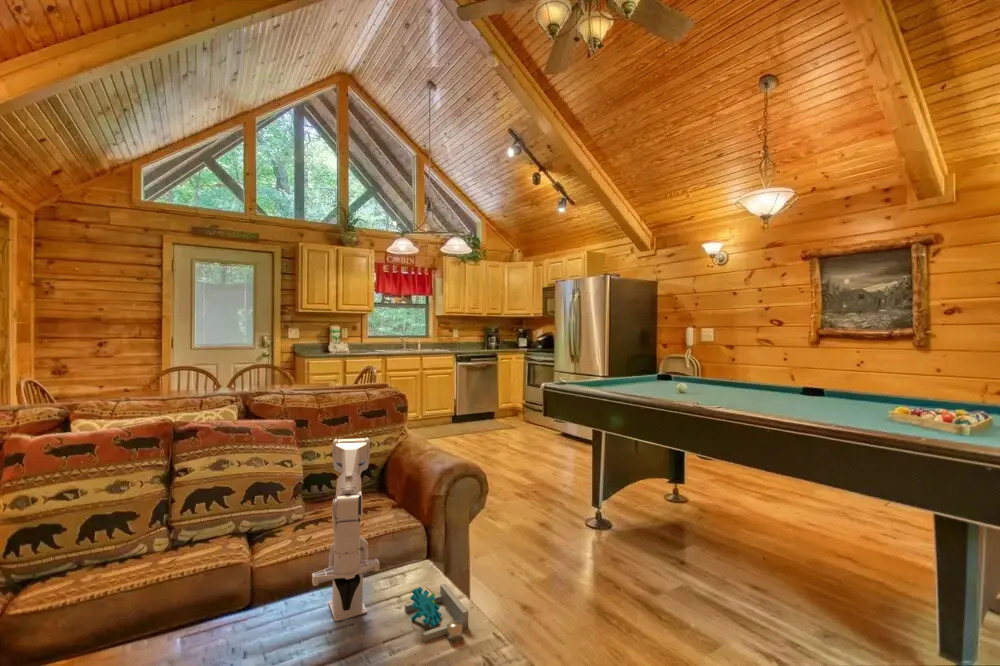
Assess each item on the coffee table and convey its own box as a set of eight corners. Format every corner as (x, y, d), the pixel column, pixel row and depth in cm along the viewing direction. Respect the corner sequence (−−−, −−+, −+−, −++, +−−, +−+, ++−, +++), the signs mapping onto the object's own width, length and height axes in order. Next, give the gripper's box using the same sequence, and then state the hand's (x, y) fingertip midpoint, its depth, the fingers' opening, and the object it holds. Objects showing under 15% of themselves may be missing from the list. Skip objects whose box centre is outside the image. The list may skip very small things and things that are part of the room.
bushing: (444, 635, 114) (444, 622, 114) (458, 630, 116) (458, 618, 116) (450, 643, 111) (450, 631, 111) (464, 639, 113) (464, 626, 113)
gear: (434, 630, 113) (409, 594, 116) (416, 646, 114) (391, 610, 116) (449, 610, 124) (425, 578, 127) (432, 625, 124) (409, 592, 127)
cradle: (404, 609, 124) (404, 594, 124) (445, 598, 130) (445, 583, 130) (424, 641, 112) (424, 624, 112) (468, 627, 117) (468, 611, 117)
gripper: (315, 563, 101) (314, 627, 101) (383, 548, 108) (382, 608, 108) (310, 549, 107) (309, 609, 107) (375, 536, 114) (374, 593, 114)
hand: (346, 608), depth 108 cm, fingers closed
